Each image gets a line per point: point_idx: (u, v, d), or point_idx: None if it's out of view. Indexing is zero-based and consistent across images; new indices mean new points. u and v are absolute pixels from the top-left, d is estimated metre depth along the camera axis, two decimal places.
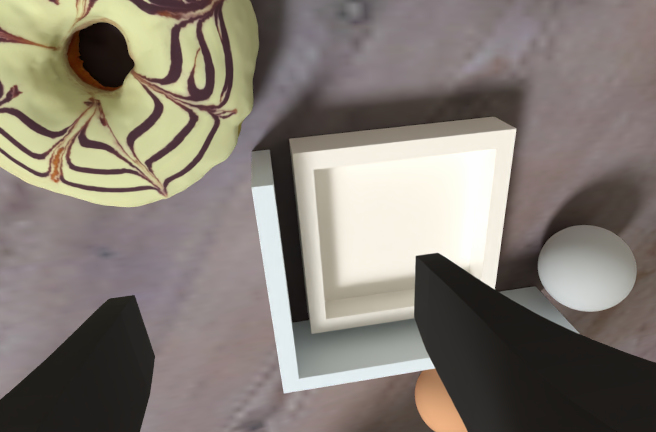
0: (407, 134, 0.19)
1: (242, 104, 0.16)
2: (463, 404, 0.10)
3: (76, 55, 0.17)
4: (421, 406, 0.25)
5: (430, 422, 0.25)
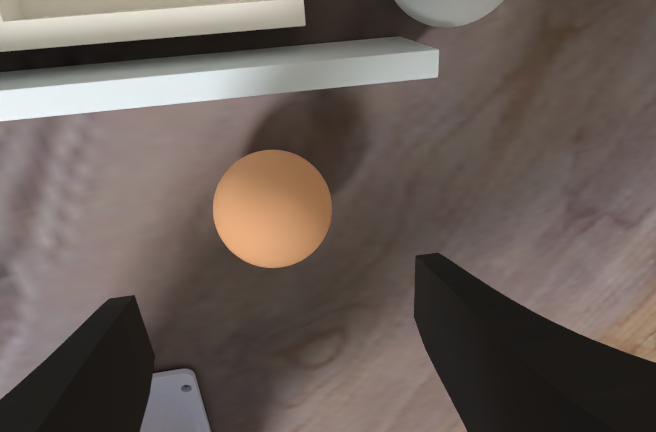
0: None
1: None
2: (463, 404, 0.10)
3: None
4: (213, 214, 0.16)
5: (223, 236, 0.16)
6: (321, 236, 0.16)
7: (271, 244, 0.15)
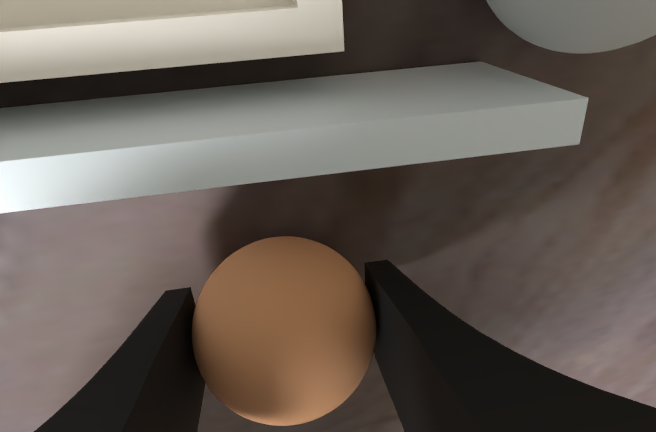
0: None
1: None
2: (404, 414, 0.10)
3: None
4: (192, 344, 0.10)
5: (208, 383, 0.10)
6: (362, 378, 0.10)
7: (284, 408, 0.09)
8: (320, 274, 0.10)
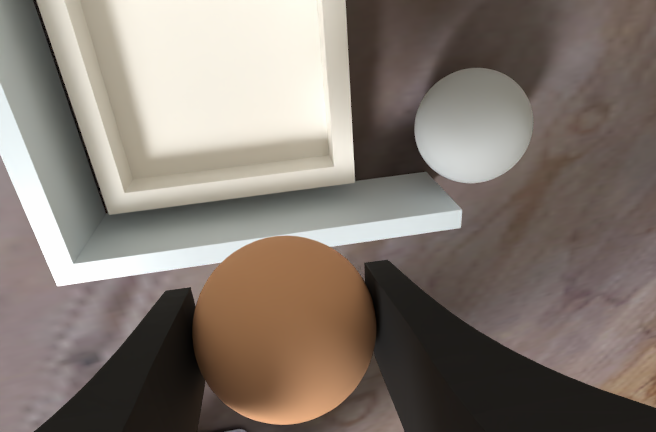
0: None
1: None
2: (404, 414, 0.10)
3: None
4: None
5: (207, 381, 0.10)
6: (361, 378, 0.10)
7: (283, 407, 0.09)
8: (320, 274, 0.10)
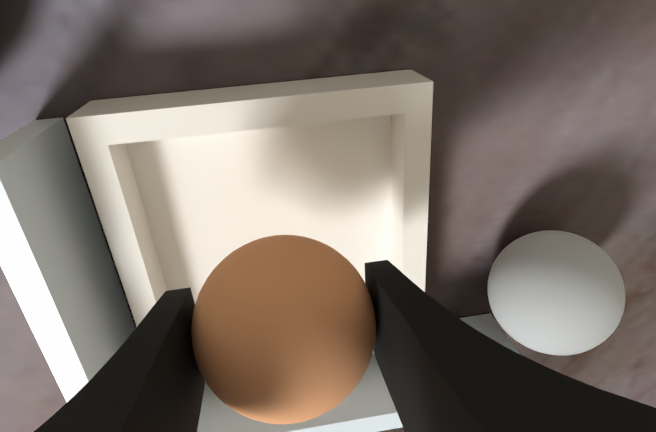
0: (266, 91, 0.13)
1: None
2: (404, 414, 0.10)
3: None
4: None
5: (207, 381, 0.10)
6: (361, 377, 0.10)
7: (283, 406, 0.09)
8: (320, 273, 0.10)
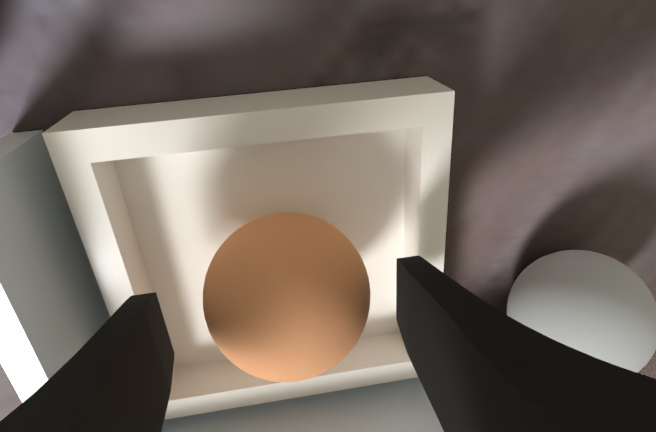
0: (268, 102, 0.11)
1: None
2: (441, 408, 0.10)
3: None
4: (204, 312, 0.11)
5: (221, 345, 0.11)
6: (359, 336, 0.11)
7: (294, 361, 0.10)
8: (321, 241, 0.11)
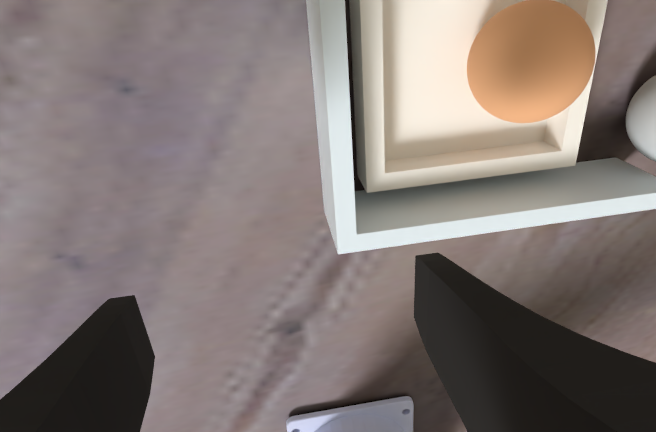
0: None
1: None
2: (463, 404, 0.10)
3: None
4: (517, 64, 0.15)
5: (539, 81, 0.15)
6: None
7: (586, 75, 0.16)
8: None
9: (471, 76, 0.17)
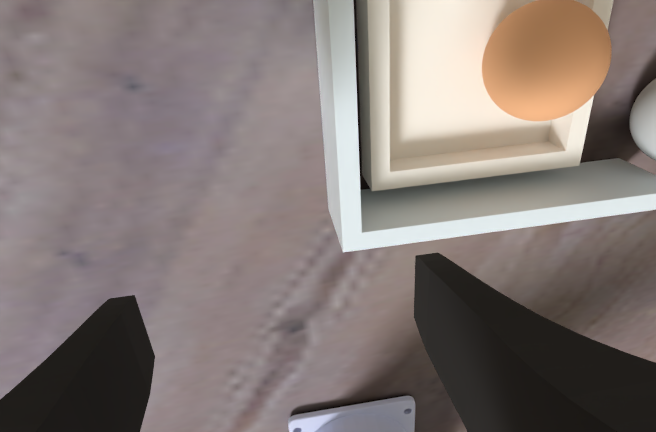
0: None
1: None
2: (463, 404, 0.10)
3: None
4: (546, 62, 0.15)
5: (567, 78, 0.15)
6: None
7: (606, 71, 0.16)
8: None
9: (492, 76, 0.17)
